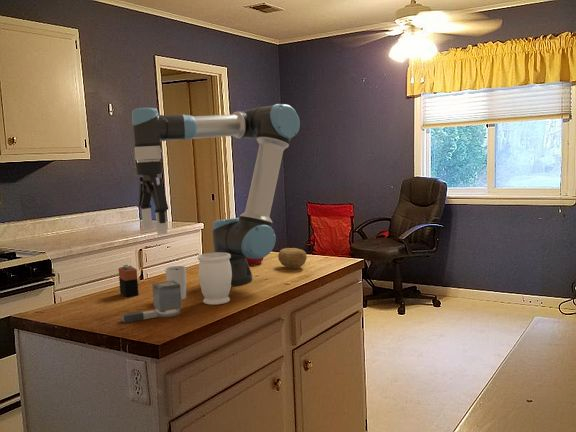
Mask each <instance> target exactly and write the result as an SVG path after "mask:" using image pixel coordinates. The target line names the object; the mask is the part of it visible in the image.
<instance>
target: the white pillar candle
mask: <svg viewBox="0 0 576 432" xmlns="http://www.w3.org/2000/svg"><path fill="white" fill-rule="evenodd" d="M164 272H165V278H166V282H167V281H175V282H177V283H178V284H180V289H181V301H182V300H185V299H187V266H186V265H185V266H184V265H173V266H167V267H165V271H164Z"/></svg>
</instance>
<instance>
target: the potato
mask: <svg viewBox="0 0 576 432" xmlns="http://www.w3.org/2000/svg"><path fill="white" fill-rule="evenodd" d="M277 257H278V261H279V262H280V263H281V266H284V267H286V268H288V269H298V268H301V267H302V266H304V265H305V263H306V261H307V253H306V251H305V250H303V249H300V248H297V247H291V248H290V247H285V248H282V249H280V251H279V252H278V256H277Z"/></svg>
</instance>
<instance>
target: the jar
mask: <svg viewBox="0 0 576 432" xmlns="http://www.w3.org/2000/svg"><path fill="white" fill-rule="evenodd" d="M230 258H231V254H229V253H223V252H215V253H214V252H207V253H206V252H205V253H201V254H199V255H197V260H198V262H199V264H198V280H199V285H200V289H201V293H202V295H203V297H204V299H203V300H202V301H203V303H204V304H206V305H210V306H212V305H213V306H217V305H223V304H227V303H229V302H230V301H231V298H230V297H229V295H230V292H231V289H232V288H231V287H232V286H231V280H232V269H231V264H230V261H229V259H230Z"/></svg>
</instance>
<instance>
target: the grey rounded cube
mask: <svg viewBox="0 0 576 432" xmlns="http://www.w3.org/2000/svg"><path fill="white" fill-rule="evenodd" d="M151 285H152V296H153V308H154V309H155V308H156V309H157V310H159V311H160V312H162V311H167V310H173V309H179V308H180V309H182V300H181V289H180V284H178V283H177V282H175V281H167V280H166V281H162V282H161V281H160V282H154V283H152V284H151Z"/></svg>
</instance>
